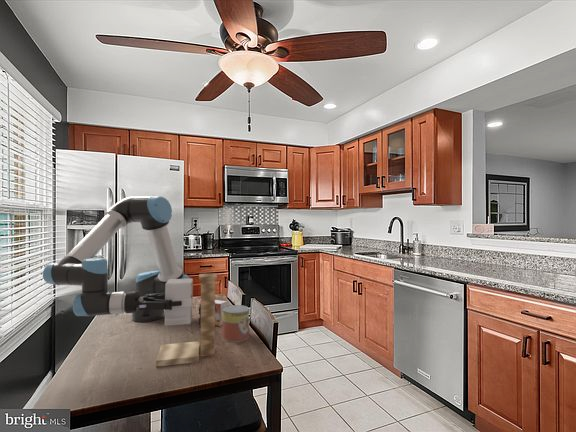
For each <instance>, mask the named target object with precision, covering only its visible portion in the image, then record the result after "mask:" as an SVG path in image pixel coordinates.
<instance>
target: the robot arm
mask: <svg viewBox="0 0 576 432" xmlns="http://www.w3.org/2000/svg"><path fill="white" fill-rule="evenodd" d="M172 212H173V210H172V205H171V203H170V201H169V200H168V199H167V198H165V197H164V196H159V195H158V196H157V195H145V196H143V195H141V196H140V195H138V196H137V195H133V196H127V197H125V198H123V199H120V201H117V202H116V203H115V204H113V205H111V207H109V208H108V210H106V211H105V212H104V213H103V218H102V219H101V220H100V221H99V222H98V223H97V224H96V225H95V226H94V227H93V228H92V229H91V230H90V231H89V232H88V233H87V234H86V235H85V236H84V237H83V238H82V239H81V240H80V241H79V242H78V243H77V244H76V245H75V246H74V247H73V248H72V249H71V250H70V251H69V252H68V253H67V254H66V255H65V256H64V257H63V258H62V259H61V260H59V262H51V263H48V264H47V265H46V266H45V267H44V269H43V270H42V271H43V272H42V277H43V278H42V279H43V280H44V282H46V283H47V284H49V285H56V286H74V287H75V286H77V287H79V286H80V287H81V292H80V293H78V294H76V295H75V297H74V299H73V304H72V311H73V313H74V315H75V316H76V317H93V316H105V315H106V316H107V315H115V317H116V316H119V315H120V314H121V315H122V314H123V315H124V314H131V320H132V321H133V322H136V323H137V322H139V323H143V322H144V323H145V322H153V321H158V320H160V319H163V318H165V310H168V309H169V310H172V307H187V306H192V307H193V303H192V298H184V299H172V300H165V284H166V283H167V281H168V280H169V279H189V278H190V276H189V275H187V274H184V272H183V269H182V268H181V267H179V265H178V262H177V259H176V255H175V250H174V247H173V244H172V241H171V237H170V234H169V230H168V225H169V223H170V220H171V219H172V217H173V214H172ZM132 223H140V225H141V229H142V230H143V231H146V232H147V234H148V235H147V236H148V239H149V241H150V245H151V249H152V251H153V255H154V258H155V262H156V266H157V268H158V270H151V271H144V272H140V273H138V274H137V276H136V277H135V278H136V280H135V290H133V291H132V290H131V291H112V292H108V281H109V280H108V277H109V268H108V259H106V258H103V257H96V256H97V255H98V254H99V252H100V251H101V250H102V249H103V248H105V247H104V246H105V245H107V243H108V242H109V241H110V240H111V239H112V238H113V237H114V235H116V233H117V232H118V231H119V230H120V229H123V228H125V227H126V226H127V225H129V224H132Z"/></svg>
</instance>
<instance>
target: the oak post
mask: <svg viewBox="0 0 576 432" xmlns="http://www.w3.org/2000/svg"><path fill="white" fill-rule="evenodd" d="M198 280H199V281H200V304H199V307H198V315H199V317H198V326H199V329H200V353H199V357H208V356H215V353H216V352H215V350H216V349H215V347H216V344H215V341H216V340H215V337H216V336H215V335H216V333H215V332H216V329H215V328H216V327H215V326H216V325H215V300H216V280H218V274H217V273H215V272H213V273H212V272H211V273H199V274H198Z"/></svg>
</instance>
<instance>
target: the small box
mask: <svg viewBox="0 0 576 432" xmlns="http://www.w3.org/2000/svg"><path fill="white" fill-rule="evenodd" d="M227 306H228V301H227V300H221V299H219V300H218V299H215V326H218V327H221V326H223V310H222V309H223V308H224V307H227Z"/></svg>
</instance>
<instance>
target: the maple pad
mask: <svg viewBox="0 0 576 432" xmlns="http://www.w3.org/2000/svg"><path fill="white" fill-rule="evenodd" d="M199 361H200V341H199V340H198V341H197V340H196V341H188V342H176V343H165V344H161V345H160V348H159V351H158V353H157V357H156V360H155V367H157V368H158V367H167V366H173V365H182V364H191V363H193V364H194V363H199Z"/></svg>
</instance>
